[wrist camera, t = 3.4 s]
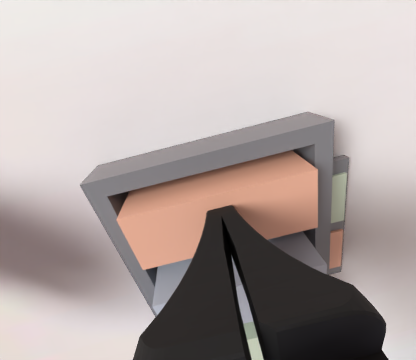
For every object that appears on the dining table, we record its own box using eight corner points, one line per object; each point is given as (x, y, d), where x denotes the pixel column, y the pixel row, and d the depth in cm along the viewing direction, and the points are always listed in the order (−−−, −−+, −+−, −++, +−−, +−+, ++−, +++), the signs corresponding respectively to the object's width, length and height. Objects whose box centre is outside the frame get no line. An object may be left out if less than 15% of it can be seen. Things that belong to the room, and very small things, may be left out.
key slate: (300, 261, 17) (325, 304, 14) (174, 292, 17) (171, 340, 14) (298, 225, 15) (327, 264, 12) (158, 259, 15) (152, 306, 12)
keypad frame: (311, 297, 21) (327, 325, 19) (180, 328, 22) (180, 359, 19) (308, 111, 13) (334, 120, 11) (98, 165, 13) (79, 184, 11)
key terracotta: (291, 196, 15) (317, 227, 12) (151, 230, 15) (142, 270, 12) (288, 147, 13) (317, 169, 10) (131, 187, 14) (116, 219, 11)
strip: (337, 267, 20) (342, 273, 19) (315, 272, 20) (320, 279, 19) (343, 155, 15) (350, 158, 14) (314, 162, 15) (320, 166, 14)
